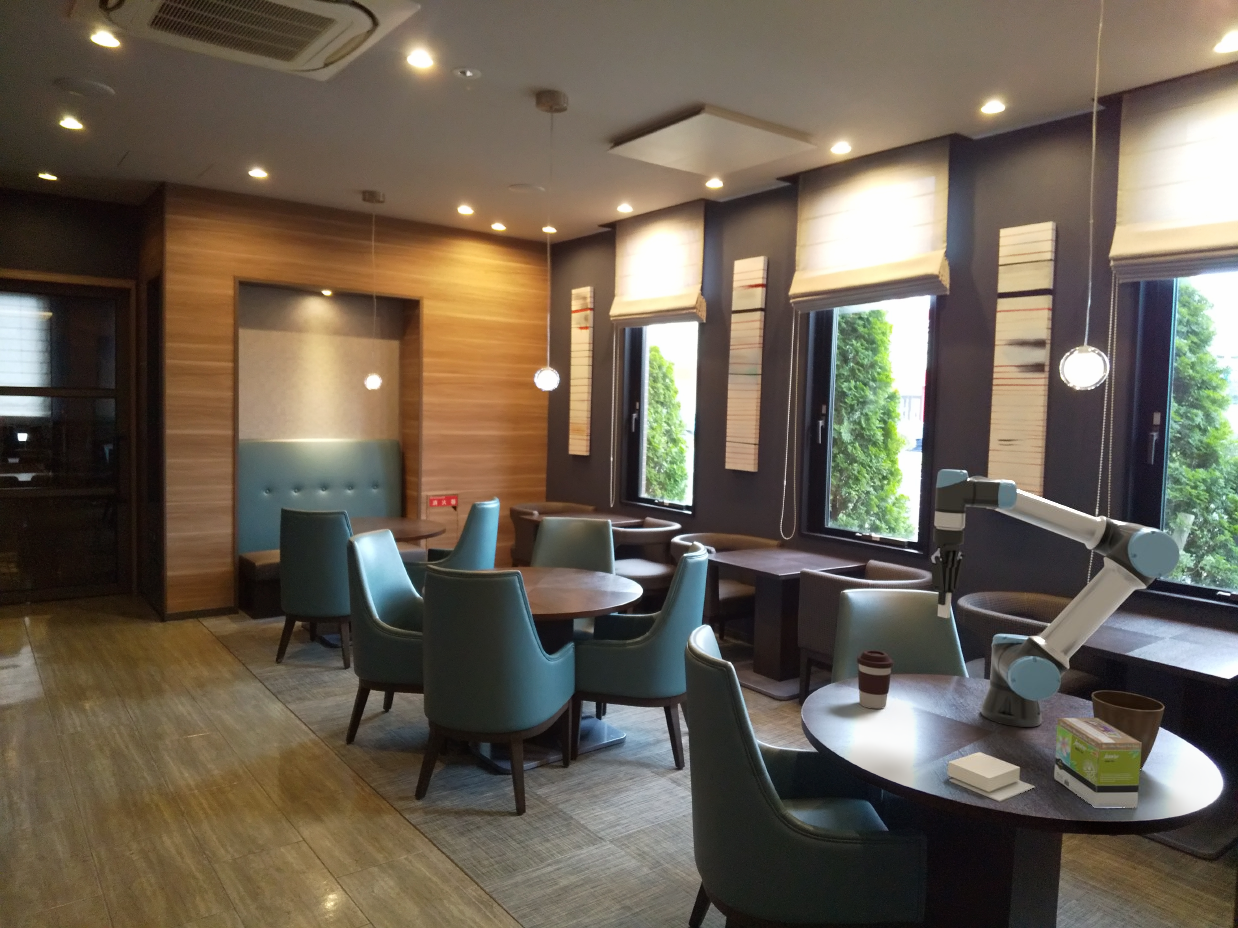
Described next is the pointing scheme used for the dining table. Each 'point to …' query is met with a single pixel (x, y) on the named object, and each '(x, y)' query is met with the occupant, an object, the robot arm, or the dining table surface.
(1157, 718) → the plant pot
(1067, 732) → the tea box
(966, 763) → the tile
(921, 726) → the dining table surface
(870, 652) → the coffee cup
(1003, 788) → the mat
